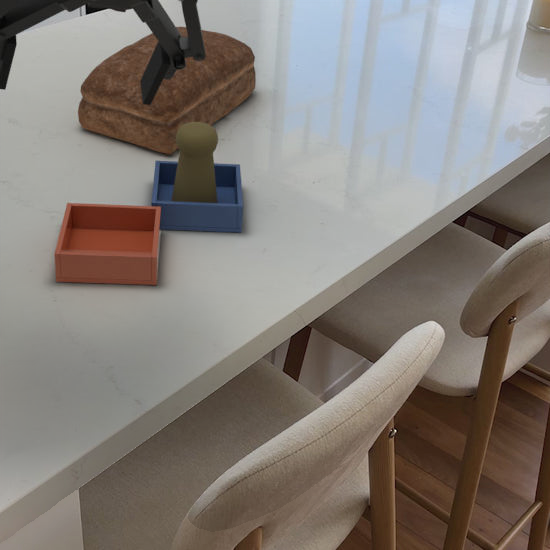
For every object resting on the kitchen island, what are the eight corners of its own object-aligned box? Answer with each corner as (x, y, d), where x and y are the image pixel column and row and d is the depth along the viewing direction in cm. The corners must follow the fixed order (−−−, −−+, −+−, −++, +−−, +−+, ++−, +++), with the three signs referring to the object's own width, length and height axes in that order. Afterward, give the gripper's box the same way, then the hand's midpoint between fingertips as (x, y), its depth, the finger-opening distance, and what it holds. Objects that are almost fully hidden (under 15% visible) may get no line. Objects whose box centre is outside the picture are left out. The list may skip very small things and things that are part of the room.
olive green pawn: (178, 218, 112) (181, 139, 106) (165, 195, 116) (166, 118, 110) (224, 212, 114) (228, 134, 108) (209, 190, 118) (213, 114, 112)
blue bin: (151, 229, 110) (151, 202, 108) (155, 185, 119) (155, 160, 117) (241, 232, 111) (243, 206, 109) (238, 189, 121) (240, 164, 118)
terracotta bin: (56, 282, 99) (54, 253, 97) (68, 229, 109) (67, 202, 106) (156, 285, 100) (157, 257, 98) (160, 233, 110) (161, 206, 108)
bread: (72, 130, 131) (68, 56, 124) (174, 70, 153) (175, 4, 147) (171, 161, 126) (173, 85, 119) (262, 93, 148) (267, 26, 142)
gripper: (-40, -78, 59) (-66, 105, 77) (294, -17, 70) (205, 131, 87) (-43, -159, 62) (-68, 35, 79) (278, -89, 73) (195, 68, 90)
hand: (75, 85), depth 83 cm, fingers open, 13 cm apart
